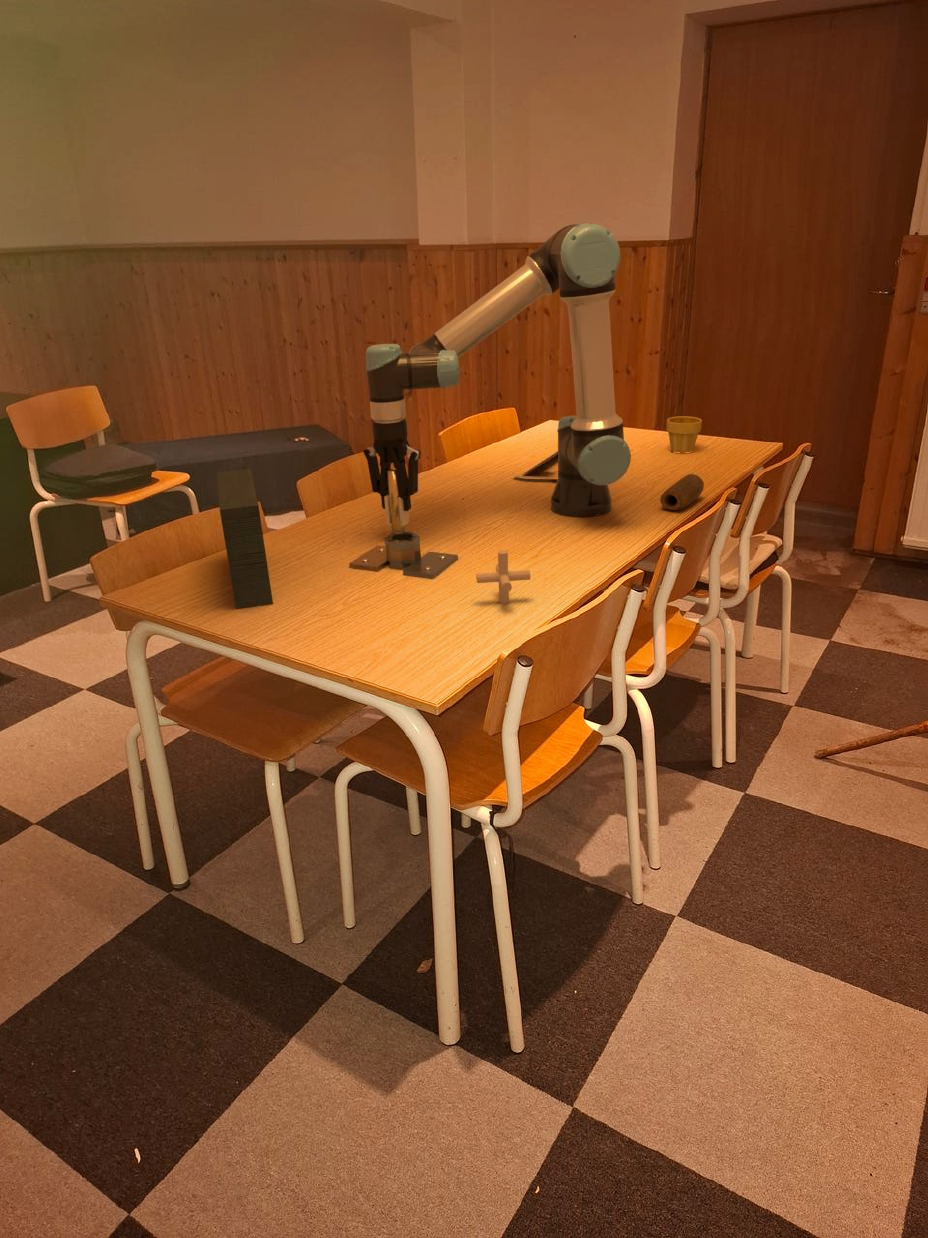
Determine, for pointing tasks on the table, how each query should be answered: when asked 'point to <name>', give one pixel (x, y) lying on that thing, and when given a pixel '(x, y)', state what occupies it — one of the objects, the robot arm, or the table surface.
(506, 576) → the pipe connector
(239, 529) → the dark layered block
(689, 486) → the stone weight
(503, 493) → the table surface
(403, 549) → the hinge
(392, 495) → the hinge pin
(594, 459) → the robot arm
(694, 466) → the table surface
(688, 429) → the plant pot
